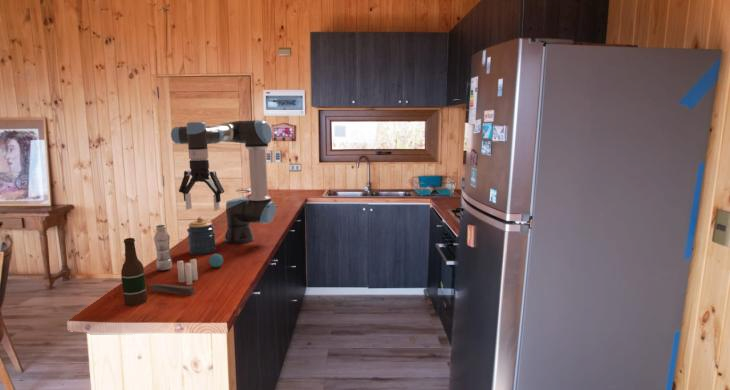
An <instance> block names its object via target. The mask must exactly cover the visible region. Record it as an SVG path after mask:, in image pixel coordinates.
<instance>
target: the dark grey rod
mask: <svg viewBox="0 0 730 390" xmlns="http://www.w3.org/2000/svg"><path fill="white" fill-rule="evenodd" d="M150 292H153V293H163V294H164V293H166V294H176V295H184V296H192V295H194V294H195V287H194V286H189V285H178V284H177V285H176V284H165V283H154V282H153V283H151V284H150Z"/></svg>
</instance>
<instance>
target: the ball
mask: <svg viewBox="0 0 730 390" xmlns="http://www.w3.org/2000/svg"><path fill="white" fill-rule="evenodd" d="M208 262H209V264H210V266H212V267H213V268H220V267H221V266H222V265H223V263H224V258H223V256H222V255H221V254H219V253H214V254H212V255H211V256H210V257H209V260H208Z"/></svg>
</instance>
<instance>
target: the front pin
mask: <svg viewBox="0 0 730 390" xmlns="http://www.w3.org/2000/svg"><path fill="white" fill-rule="evenodd" d="M189 263H191V272H192V282H193V281H198V280H199V278H198V275H199V274H198V264H197V263H198V262H197V259H196V258H191V259H190V260H189Z"/></svg>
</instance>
